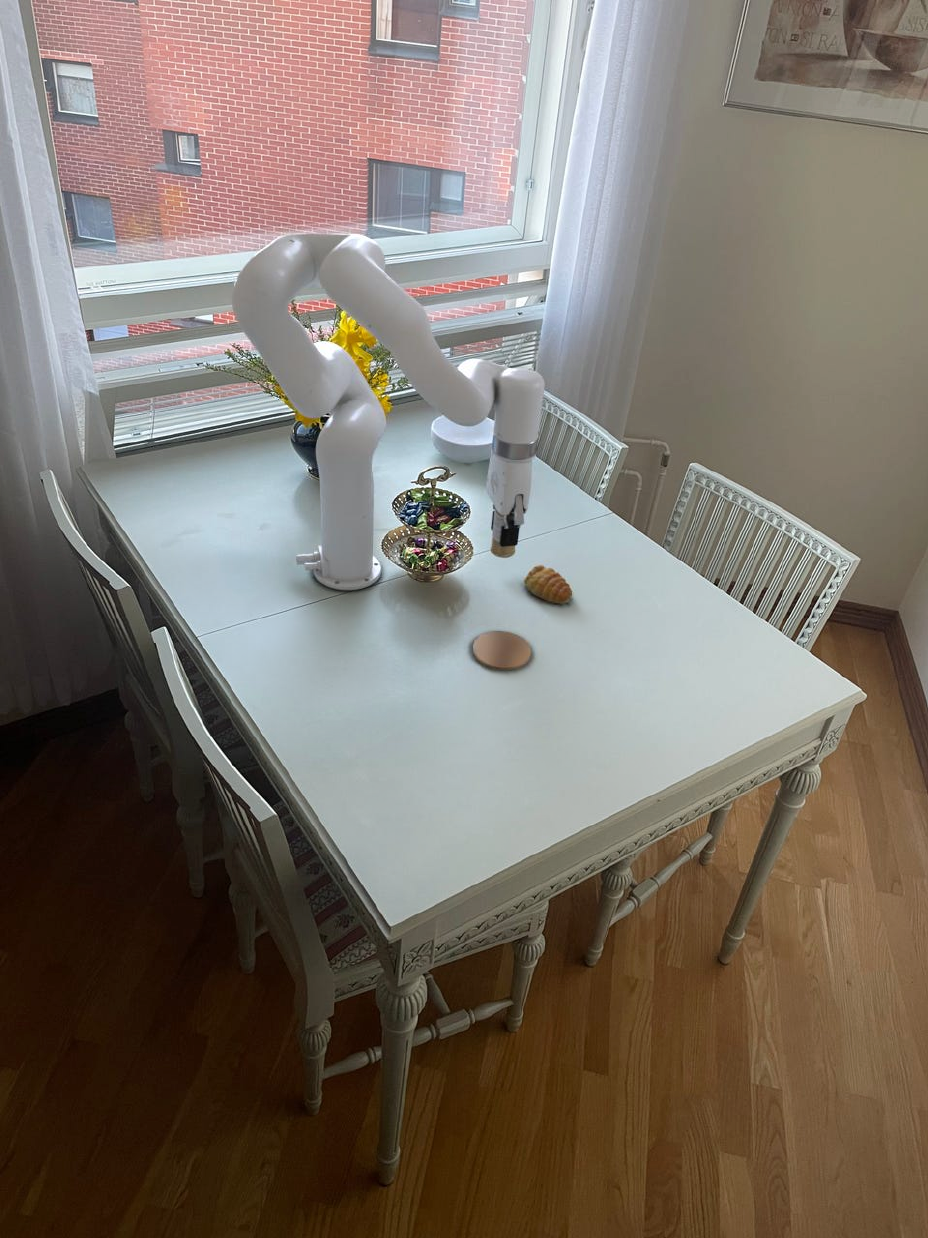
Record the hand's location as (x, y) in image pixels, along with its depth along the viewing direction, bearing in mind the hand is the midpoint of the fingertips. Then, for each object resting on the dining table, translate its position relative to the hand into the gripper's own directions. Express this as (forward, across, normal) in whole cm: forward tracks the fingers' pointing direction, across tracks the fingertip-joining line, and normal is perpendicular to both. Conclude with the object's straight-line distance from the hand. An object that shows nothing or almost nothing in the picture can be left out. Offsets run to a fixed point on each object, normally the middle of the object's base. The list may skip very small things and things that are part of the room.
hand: (504, 536), depth 165 cm
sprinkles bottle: (+4, 0, 0) cm, 4 cm away
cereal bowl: (+13, -55, +9) cm, 57 cm away
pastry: (+13, 0, +10) cm, 17 cm away
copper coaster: (+13, +16, -4) cm, 21 cm away
